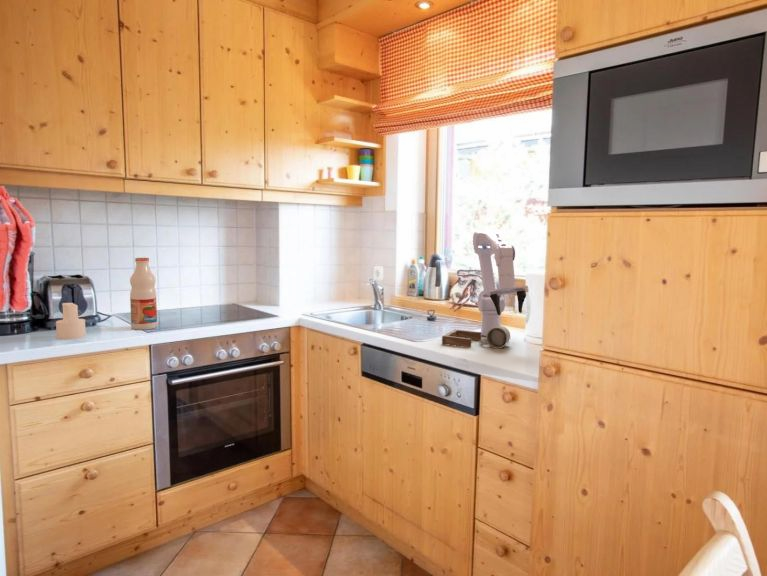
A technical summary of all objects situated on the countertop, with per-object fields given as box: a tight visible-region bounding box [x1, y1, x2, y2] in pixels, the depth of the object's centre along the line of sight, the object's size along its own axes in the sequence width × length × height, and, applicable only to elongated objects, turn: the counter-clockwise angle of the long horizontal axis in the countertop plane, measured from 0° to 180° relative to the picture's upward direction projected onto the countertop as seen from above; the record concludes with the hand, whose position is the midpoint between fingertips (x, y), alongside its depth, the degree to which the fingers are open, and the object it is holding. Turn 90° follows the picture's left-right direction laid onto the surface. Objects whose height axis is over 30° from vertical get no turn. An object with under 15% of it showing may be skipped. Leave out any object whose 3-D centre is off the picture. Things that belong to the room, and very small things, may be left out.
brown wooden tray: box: [441, 329, 482, 348], centre depth 190 cm, size 15×10×3 cm
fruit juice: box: [129, 257, 158, 331], centre depth 201 cm, size 9×9×28 cm
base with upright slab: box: [55, 302, 87, 341], centre depth 182 cm, size 9×9×12 cm
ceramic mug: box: [479, 325, 511, 350], centre depth 185 cm, size 11×8×8 cm
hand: (509, 313), depth 182 cm, fingers open, 7 cm apart
